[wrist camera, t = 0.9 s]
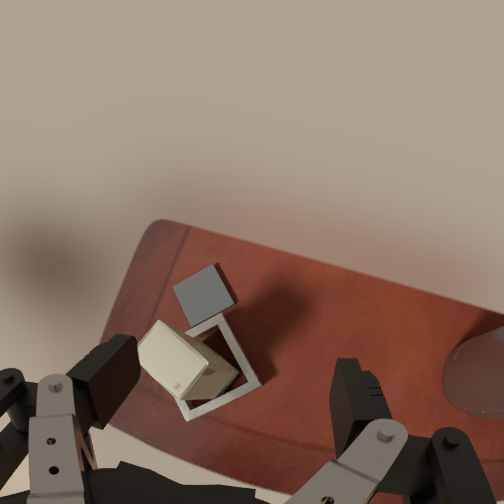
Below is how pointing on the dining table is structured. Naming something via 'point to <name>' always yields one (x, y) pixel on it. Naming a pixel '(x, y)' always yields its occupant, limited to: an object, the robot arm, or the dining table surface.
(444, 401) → the dining table surface
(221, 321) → the grey square frame
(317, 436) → the dining table surface
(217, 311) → the pad
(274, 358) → the dining table surface
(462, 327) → the dining table surface
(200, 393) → the skincare box
